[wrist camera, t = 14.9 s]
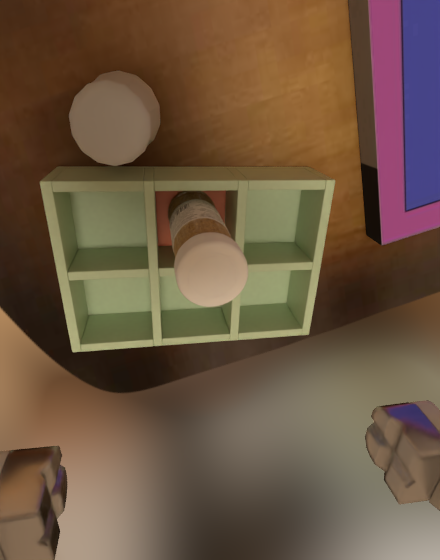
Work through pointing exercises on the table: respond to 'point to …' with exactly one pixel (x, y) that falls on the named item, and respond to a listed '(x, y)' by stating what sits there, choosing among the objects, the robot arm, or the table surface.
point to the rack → (160, 257)
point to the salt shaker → (115, 118)
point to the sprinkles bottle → (204, 251)
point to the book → (398, 114)
